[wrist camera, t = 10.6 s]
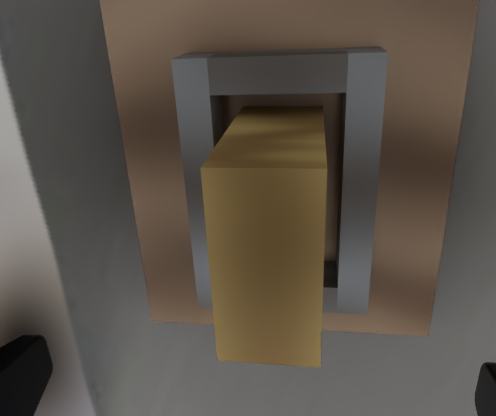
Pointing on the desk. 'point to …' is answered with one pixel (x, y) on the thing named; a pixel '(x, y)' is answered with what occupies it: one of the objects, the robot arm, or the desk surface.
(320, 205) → the keyed peg
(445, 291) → the desk surface
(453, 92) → the socket holder
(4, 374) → the robot arm
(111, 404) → the desk surface
